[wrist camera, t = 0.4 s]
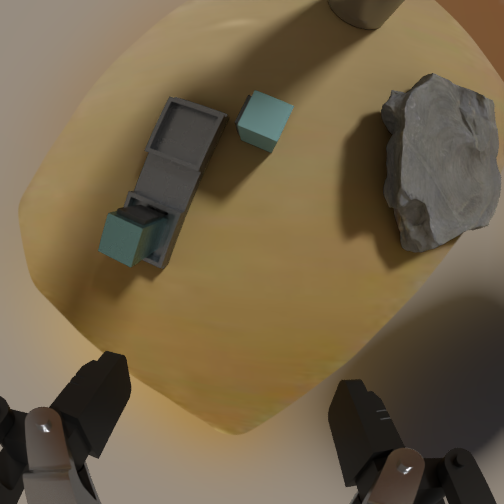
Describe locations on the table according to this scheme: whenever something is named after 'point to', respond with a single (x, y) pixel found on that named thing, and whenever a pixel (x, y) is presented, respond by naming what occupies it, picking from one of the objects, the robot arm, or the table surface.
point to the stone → (440, 162)
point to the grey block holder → (164, 185)
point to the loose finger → (262, 120)
